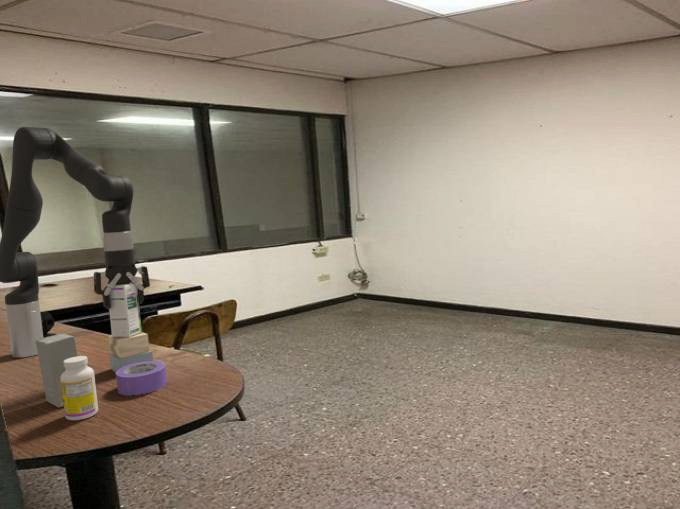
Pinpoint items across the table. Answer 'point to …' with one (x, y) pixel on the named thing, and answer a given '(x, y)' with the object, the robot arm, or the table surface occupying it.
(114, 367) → the slate slab
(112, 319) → the syrup box
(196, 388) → the table surface
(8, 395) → the table surface
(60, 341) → the skincare box
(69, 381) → the supplement bottle
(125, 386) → the tape roll
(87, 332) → the table surface
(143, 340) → the maple block
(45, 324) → the webcam
